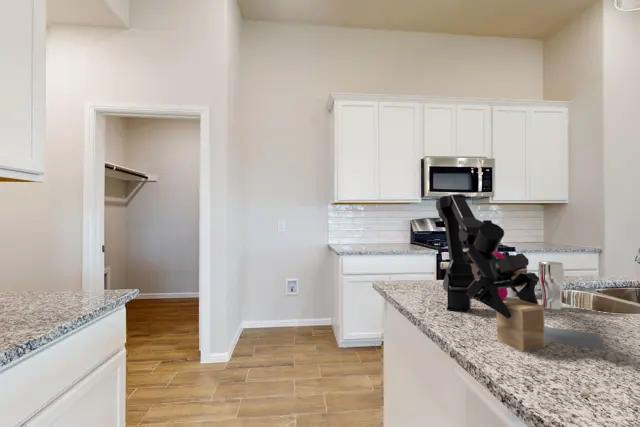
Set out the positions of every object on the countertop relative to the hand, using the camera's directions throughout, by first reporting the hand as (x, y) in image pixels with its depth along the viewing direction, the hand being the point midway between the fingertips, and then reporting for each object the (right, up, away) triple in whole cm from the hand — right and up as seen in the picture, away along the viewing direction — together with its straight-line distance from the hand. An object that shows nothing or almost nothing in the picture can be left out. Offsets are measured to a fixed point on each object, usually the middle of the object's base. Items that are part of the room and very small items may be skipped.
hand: (524, 315), depth 80 cm
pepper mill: (+13, -8, +37) cm, 40 cm away
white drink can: (+28, -7, +32) cm, 43 cm away
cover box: (0, -8, +1) cm, 8 cm away
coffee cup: (+27, -8, +49) cm, 57 cm away
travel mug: (+9, -8, +49) cm, 51 cm away
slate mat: (+14, -7, +5) cm, 17 cm away
